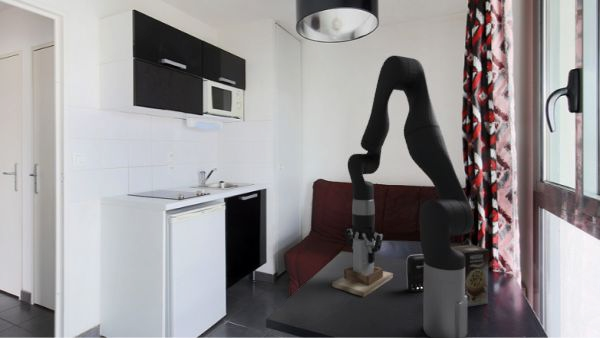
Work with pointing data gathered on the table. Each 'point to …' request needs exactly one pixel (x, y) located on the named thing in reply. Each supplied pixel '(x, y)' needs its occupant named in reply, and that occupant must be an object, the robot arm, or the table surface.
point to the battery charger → (415, 273)
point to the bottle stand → (362, 281)
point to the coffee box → (475, 274)
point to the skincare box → (361, 257)
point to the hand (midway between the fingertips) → (363, 261)
